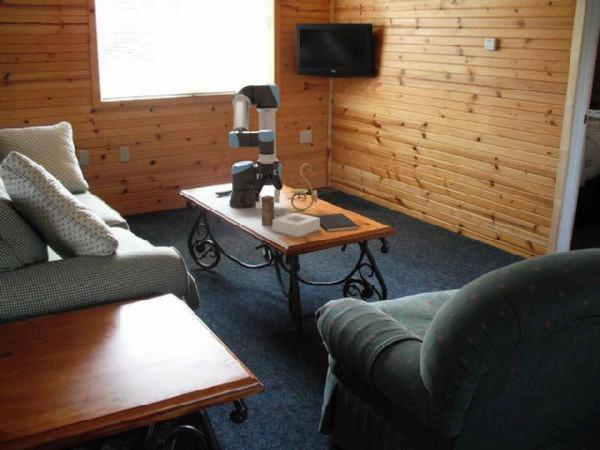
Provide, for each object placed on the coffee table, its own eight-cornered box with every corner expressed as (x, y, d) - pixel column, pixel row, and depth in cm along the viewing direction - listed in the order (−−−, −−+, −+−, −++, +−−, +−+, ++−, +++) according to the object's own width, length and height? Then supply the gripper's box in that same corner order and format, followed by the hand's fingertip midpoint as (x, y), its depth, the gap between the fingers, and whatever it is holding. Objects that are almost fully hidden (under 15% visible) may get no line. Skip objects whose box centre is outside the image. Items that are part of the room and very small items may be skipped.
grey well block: (294, 224, 346) (294, 212, 344) (319, 230, 336) (319, 218, 335) (272, 231, 334) (272, 219, 333) (298, 238, 325) (298, 225, 323)
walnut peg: (267, 222, 349) (267, 195, 345) (274, 224, 347) (274, 196, 343) (261, 224, 346) (261, 197, 342) (268, 226, 343) (268, 198, 339)
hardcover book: (342, 217, 359) (342, 213, 359) (358, 229, 338) (358, 225, 338) (312, 220, 355) (312, 215, 355) (326, 232, 334) (326, 228, 333)
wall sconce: (313, 207, 377) (313, 161, 370) (318, 211, 368) (318, 164, 361) (288, 208, 374) (287, 162, 367) (292, 213, 365) (291, 166, 358)
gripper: (255, 167, 326) (256, 211, 332) (289, 159, 344) (290, 201, 350) (243, 165, 330) (244, 209, 336) (278, 157, 349) (278, 199, 355)
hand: (267, 205), depth 343 cm, fingers open, 13 cm apart
